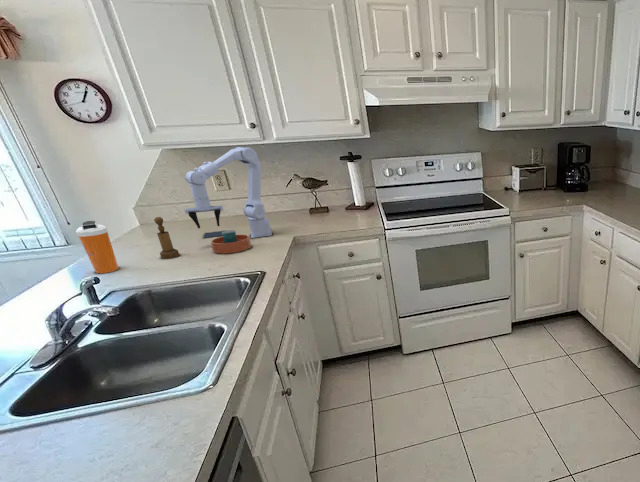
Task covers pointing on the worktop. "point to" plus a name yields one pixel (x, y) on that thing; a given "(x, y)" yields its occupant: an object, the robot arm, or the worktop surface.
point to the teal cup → (229, 236)
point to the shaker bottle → (97, 246)
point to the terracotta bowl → (231, 244)
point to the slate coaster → (213, 234)
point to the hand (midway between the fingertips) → (209, 226)
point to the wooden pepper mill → (165, 241)
